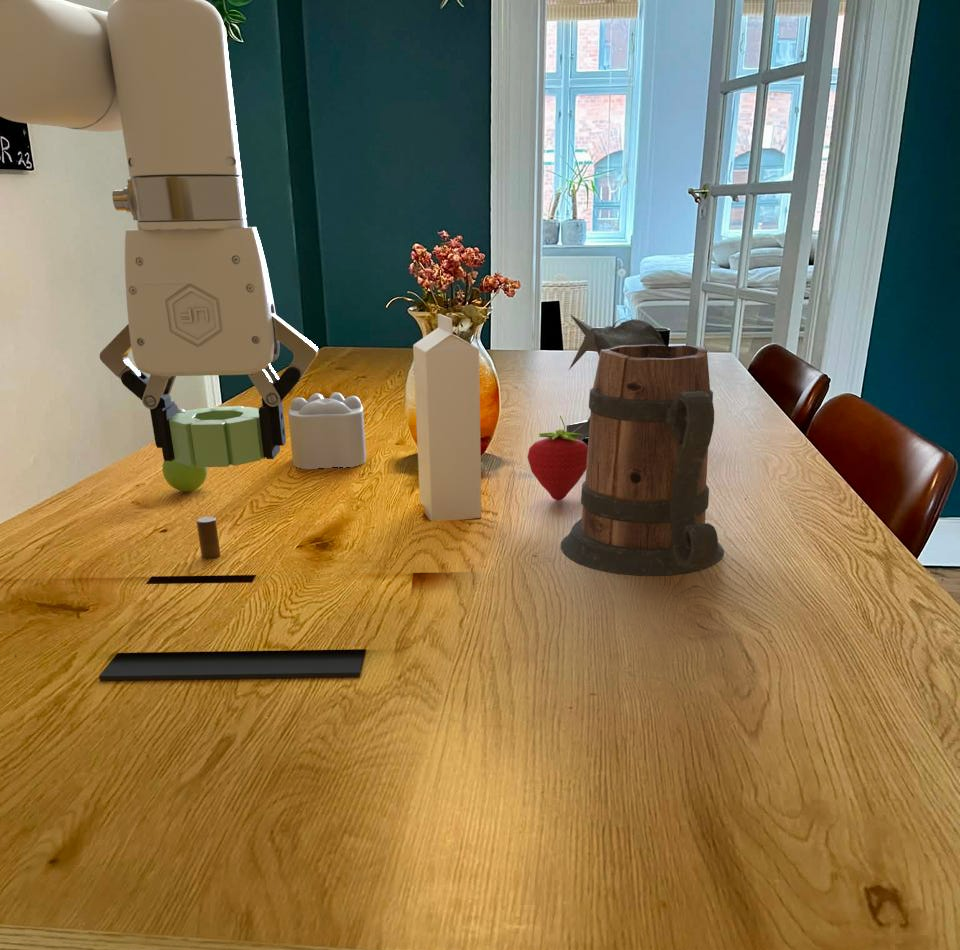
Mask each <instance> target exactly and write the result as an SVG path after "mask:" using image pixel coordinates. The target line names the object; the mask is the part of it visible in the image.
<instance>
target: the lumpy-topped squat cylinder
mask: <svg viewBox="0 0 960 950" xmlns="http://www.w3.org/2000/svg"><path fill="white" fill-rule="evenodd" d="M287 416H288V417H287V418H288V427H289V438H290V447H291V459H292V465H293V467H294V468H296V467H297V469H300V468H301V469H300V470H319V469H318V468H324V469H333V468H332V467H338V468H337V469H340V468H339V467H343V468H342V469H347V468H346V467H350V468H355V466H356V467H360V466H362V465H364V464H365V463H366V461H367V448H366V433H365V415H364V407H363V405H362V402H361V399H360V398H359V397H358V396H356V395H349V396H348V397H346V398H345V397H344V396H343V395H342V393H340V392H336V391H335V392H332V393H331V394H330V395H329V397H327V398H326V397H324V395H323V394H321V393H318V392H315V393H313V394H312V395H310V396H309V398H308V400H306V399H305V398H303V397H295V398H293V399H292V400H291V402H290V404H289V409H288V412H287ZM359 465H360V466H359Z"/></svg>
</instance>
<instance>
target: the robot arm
mask: <svg viewBox="0 0 960 950" xmlns="http://www.w3.org/2000/svg"><path fill="white" fill-rule="evenodd" d="M231 75H232V74H231V68H230V59H229V50H228V39H227V34H226V28H225V24H224V20H223V18H222V15H221V14H220V12H219V11H218V10H217V8H216V7H215V6H214V5H213V4H211V2H209V1H207V0H114V1H113V2H112V3H111V4H110V5H109V7H108V10H107V11H105V10H101V9H100V10H99V9H95V8H92V7H88V6H85V5H81V4H77V3H75V2H71V1H67V0H0V118H3V119H5V120H8V121H11V122H16V123H22V124H30V125H39V126H40V125H41V126H50V127H59V128H66V129H72V130H80V131H88V132H89V131H90V132H104V133H105V132H115V131H120V130H122V135H123V136H122V137H123V141H124V148H125V154H126V161H127V168H128V173H129V174H128V175H129V177H130V179H129V178H128V179H127V185H126V187H123V188H122V189H113V191H112V195H111V197H112V202H113V206H114V209H115V210H116V211H117V212H118V211H119V212H120V211H122V212H123V211H124V212H125V211H126V212H127V213H130V214H131V216H132V219H133V221H136V225H137V228H136V229H126V230H125V236H124V278H125V279H124V281H125V296H126V311H127V324H126V325H125V327H123V329H122V330H121V331H120V332H118V334H116V335H115V337H113V339H112V340H111V341H110V342H109V343H108V344H107V345H106V346H105V347H104V348H103V349H102V350H101V351H100V353H99V360H100V362H101V363H103V364H104V365H105V366H106V367H107V368H108V370H110V371H111V372H112V374H113V375H115V376H116V378H117V377H118V378H119V380H120V382H121V383H122V385H123V386H124V387H125V388H126V389H128V391H130V392H131V393H132V394H133V395H135V396H136V397H137V398H138V399H139V400H141V402H142V405H143V406H144V407H145V408H146V409H149V412H150V418H151V424H152V430H153V437H154V442H155V445H156V448H157V449H161V451H162V452H161V453H162V456H163V462H164V461H172V460H174V459H175V458H174V452H173V445H172V439H171V432H170V426H169V419H170V418H171V417H172V416H174V415H175V414H177V413H178V408H179V407H178V405H177V403H176V401H172V396H171V395H170V394H171V391H172V388H173V386H174V383H175V381H176V378H177V377H194V376H195V377H198V376H243V375H247V376H248V378H249V380H250V381H251V382H252V385H254V387H255V389H256V390H257V392H258V393H259V395H260V396H261V406H260V407H259V408H258V409H259V420H260V429H261V437H262V446H263V455H264V457H266V458H265V459H266V460H275V458H276V457H277V456H278V454H279V453H280V451H281V446H285V445H286V442H287V439H286V438H287V435H286V424H285V415H284V404H283V400H284V399H285V398H286V397H287V396H288V395H289V393H290V392H291V391H292V390H293V389H294V388H295V387H296V385H297V384H298V383H299V382H300V381H301V379H302V378H303V377H304V375H305V374H306V372H307V371H308V370H309V368H310V367H311V365H312V364H313V363H314V361H315V360H316V358H317V357H318V355H319V348H318V346H316V344H314V343H313V342H312V341H311V340H309V339H308V338H307V337H305V336H304V335H303V334H302V333H300V332H299V331H298V330H296V329H295V328H294V327H292V326H291V325H290V324H289V323H287V322H286V321H285V320H284V319H283V318H281V317H280V316H278V315H277V312H276V307H275V302H274V301H275V300H274V297H273V290H272V286H271V280H270V276H269V269H268V266H267V261H266V257H265V254H264V250H263V246H262V242H261V239H260V236H259V233H258V230H257V226H248V221H247V214H246V204H245V194H244V186H243V178H242V167H241V159H240V150H239V149H240V148H239V141H238V140H239V139H238V130H237V125H236V124H237V121H236V113H235V103H234V93H233V86H232V84H233V83H232V77H231ZM280 344H282V345H283V346H284V347H286V348H287V349H288V350H289V351H290V352H291V353H292V355H293V358H292V360H291V362H290V363H289V365H288V367H287V368H286V369H285V370H284V371H283V372H282V374H281V375H280V376H278V374H277V373H276V371H275V370H274V368H273V367H272V365H271V364H272V363H274V362H275V361H277V360H278V358H279V356H280V349H281V347H280V346H281V345H280ZM130 352H131V353H132V358H133V361H134V363H133V362H132V361H131V360H130V359H129V353H130ZM134 364H135V365H134ZM148 375H149V376H148Z"/></svg>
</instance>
